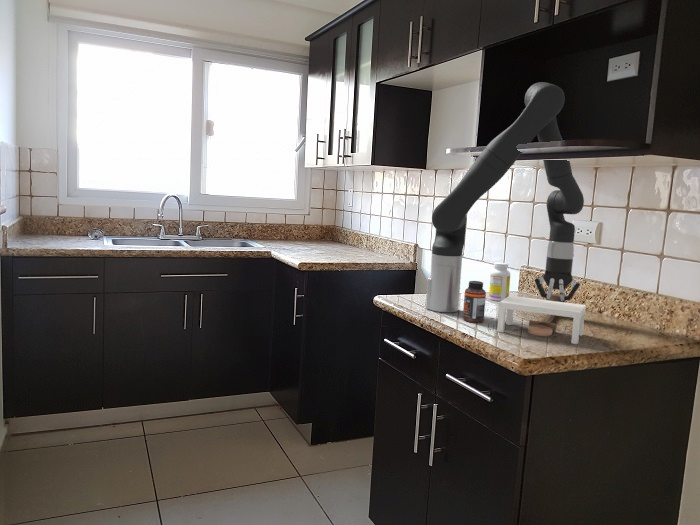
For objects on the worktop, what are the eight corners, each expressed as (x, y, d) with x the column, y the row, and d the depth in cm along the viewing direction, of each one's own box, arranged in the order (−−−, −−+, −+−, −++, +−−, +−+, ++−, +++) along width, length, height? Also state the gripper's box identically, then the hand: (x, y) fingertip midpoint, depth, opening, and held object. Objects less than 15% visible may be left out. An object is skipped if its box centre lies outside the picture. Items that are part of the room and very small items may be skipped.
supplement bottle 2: (503, 298, 200) (506, 262, 198) (511, 301, 194) (514, 264, 192) (485, 297, 199) (488, 261, 197) (493, 301, 193) (496, 264, 191)
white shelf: (496, 331, 149) (499, 302, 148) (507, 323, 160) (509, 295, 159) (577, 344, 140) (580, 312, 139) (582, 334, 150) (585, 305, 149)
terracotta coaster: (548, 338, 146) (548, 333, 145) (525, 333, 149) (525, 328, 149) (554, 333, 150) (555, 327, 150) (532, 328, 154) (532, 323, 154)
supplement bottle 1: (458, 318, 163) (461, 280, 162) (476, 318, 165) (479, 280, 163) (469, 323, 157) (472, 283, 156) (487, 322, 159) (490, 283, 158)
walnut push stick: (528, 328, 154) (530, 307, 154) (544, 310, 180) (546, 292, 179) (555, 332, 151) (557, 310, 150) (568, 314, 177) (569, 295, 176)
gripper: (534, 255, 171) (529, 311, 173) (583, 259, 165) (577, 317, 167) (538, 253, 177) (533, 307, 180) (585, 257, 171) (579, 313, 173)
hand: (554, 311), depth 173 cm, fingers closed on walnut push stick, 2 cm apart
